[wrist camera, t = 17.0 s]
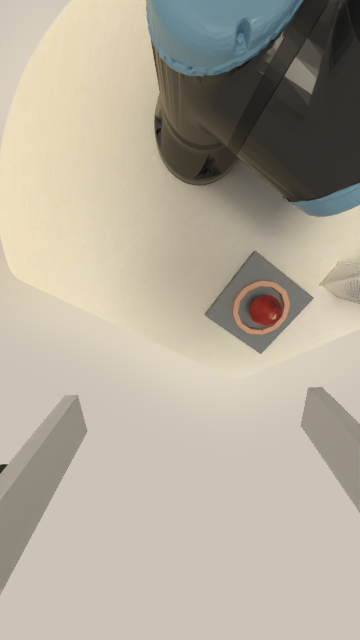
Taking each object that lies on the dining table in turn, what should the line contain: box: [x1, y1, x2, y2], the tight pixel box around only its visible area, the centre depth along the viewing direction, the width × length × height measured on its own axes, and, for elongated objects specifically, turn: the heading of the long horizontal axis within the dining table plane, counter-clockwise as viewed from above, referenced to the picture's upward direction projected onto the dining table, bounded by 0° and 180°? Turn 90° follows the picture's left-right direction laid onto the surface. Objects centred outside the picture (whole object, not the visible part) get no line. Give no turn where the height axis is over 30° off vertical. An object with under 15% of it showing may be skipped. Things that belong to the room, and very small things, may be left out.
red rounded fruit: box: [249, 295, 282, 325], centre depth 38 cm, size 6×6×8 cm
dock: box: [205, 251, 313, 354], centre depth 42 cm, size 16×16×3 cm
